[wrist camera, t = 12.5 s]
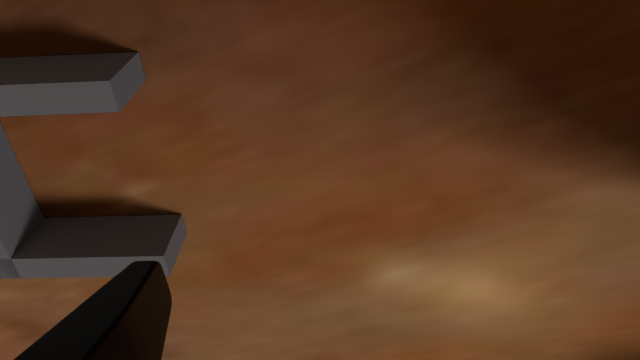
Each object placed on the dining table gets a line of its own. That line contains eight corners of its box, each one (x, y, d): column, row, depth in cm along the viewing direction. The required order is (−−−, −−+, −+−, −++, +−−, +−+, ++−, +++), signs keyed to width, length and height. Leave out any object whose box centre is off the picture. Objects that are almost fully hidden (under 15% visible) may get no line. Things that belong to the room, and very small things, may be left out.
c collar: (138, 52, 20) (109, 80, 17) (186, 233, 25) (169, 275, 22) (-58, 60, 20) (-114, 89, 18) (30, 236, 25) (-4, 278, 23)
